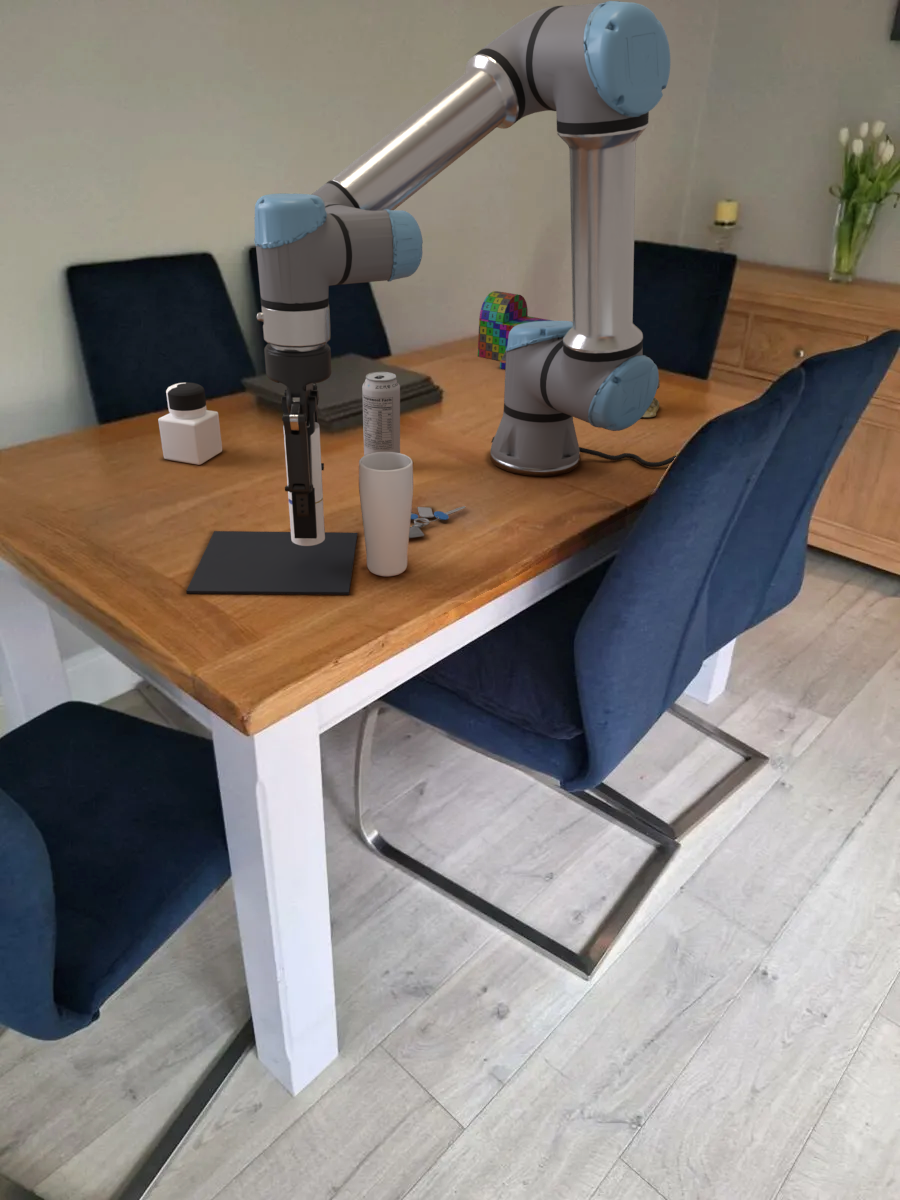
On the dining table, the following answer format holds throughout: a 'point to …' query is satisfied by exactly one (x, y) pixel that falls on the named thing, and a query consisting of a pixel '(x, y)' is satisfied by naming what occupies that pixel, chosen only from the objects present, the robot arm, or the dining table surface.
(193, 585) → the charcoal mat
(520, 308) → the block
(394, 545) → the drinking glass
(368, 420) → the energy drink can
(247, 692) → the dining table surface
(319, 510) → the tube
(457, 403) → the dining table surface
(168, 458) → the medicine bottle
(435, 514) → the key chain
